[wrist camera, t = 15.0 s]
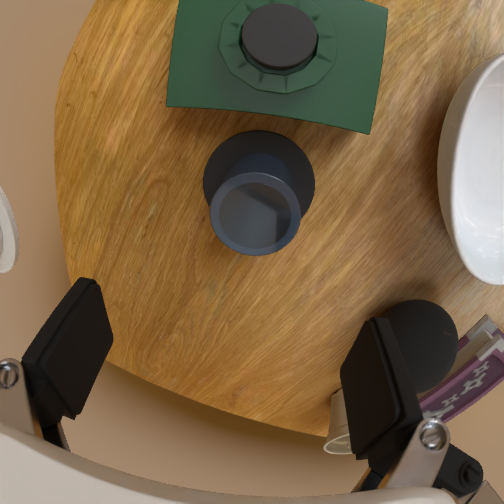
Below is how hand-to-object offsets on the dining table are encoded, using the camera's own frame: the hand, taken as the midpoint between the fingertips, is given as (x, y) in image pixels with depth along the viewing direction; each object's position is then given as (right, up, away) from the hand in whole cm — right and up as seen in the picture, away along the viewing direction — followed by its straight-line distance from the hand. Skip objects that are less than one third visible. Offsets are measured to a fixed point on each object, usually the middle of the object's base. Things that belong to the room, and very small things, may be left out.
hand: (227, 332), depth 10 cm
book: (+33, -18, +27) cm, 47 cm away
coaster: (+1, +8, +14) cm, 16 cm away
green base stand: (+3, +18, +8) cm, 19 cm away
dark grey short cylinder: (+2, +15, +4) cm, 16 cm away
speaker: (+18, -4, +20) cm, 27 cm away
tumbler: (+1, +8, +13) cm, 16 cm away
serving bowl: (+24, +12, +10) cm, 29 cm away
